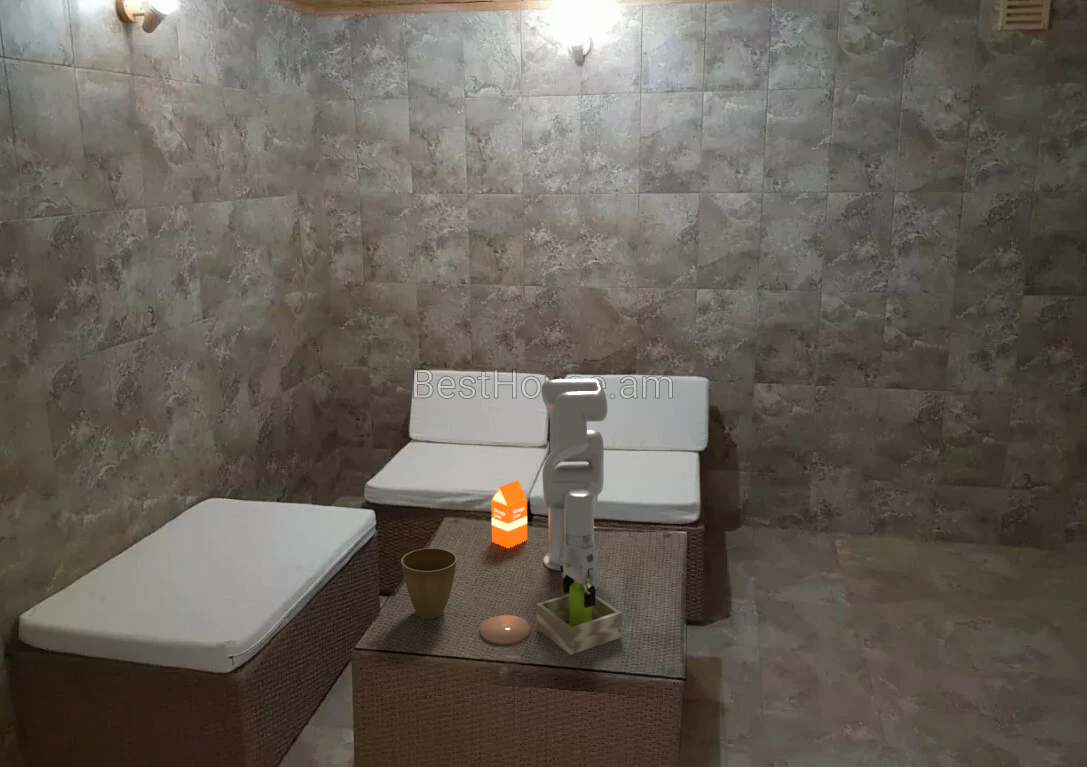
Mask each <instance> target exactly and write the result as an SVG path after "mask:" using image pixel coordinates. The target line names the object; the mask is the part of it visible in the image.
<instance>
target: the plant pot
mask: <svg viewBox="0 0 1087 767" xmlns="http://www.w3.org/2000/svg"><path fill="white" fill-rule="evenodd" d="M457 560H458V558H457V556H456V554H454V553H453V552H452V551H450V550H447V549H443V548H436V547H431V548H430V547H427V548H420V549H416V550H412V551H410V552H408V553H406V554H404V555H403V556H402V558H401V562H400V563H401V567H402V573H403V578H404V582H405V585H406V586H405V587H406V588H407V592H408V596H409V599H410V601H411V603H412V606H413V608H414V610H415V612H416V615H417V616H418V617H419V618H421V619H427V620H431V619H437V618H439V617H441V616H442V615H443V614H444V612H445V610H446V607H447V604H448V601H449V598H450V595H451V592H452V588H453V583H454V579H455V578H454V577H455V574H456V573H455V572H456V567H457Z"/></svg>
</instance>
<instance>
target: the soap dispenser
mask: <svg viewBox="0 0 1087 767" xmlns="http://www.w3.org/2000/svg"><path fill="white" fill-rule="evenodd" d="M566 567H567V568H569V567H570V565H569V564H567V563H566ZM586 581H588V579H587V580H586ZM587 585H588V588H590V587H591V584H590V583H589V584H587ZM584 593H586V591H585V589H584V586H583V584H580V583H579V582H577V581H576V580H574V583H573V584H571V585H570V592H569V594H570V615H569V620H568V621H569V622H568V625H569V626H571V627H574V626H577V625H580V624H583V623H586V622H589V621H592V606H591V607H588V608H585V607H584Z"/></svg>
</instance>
